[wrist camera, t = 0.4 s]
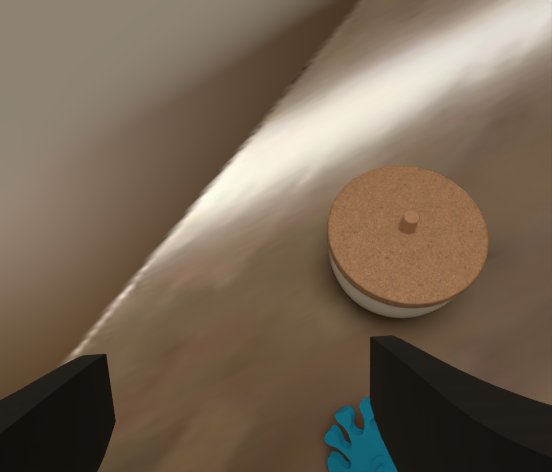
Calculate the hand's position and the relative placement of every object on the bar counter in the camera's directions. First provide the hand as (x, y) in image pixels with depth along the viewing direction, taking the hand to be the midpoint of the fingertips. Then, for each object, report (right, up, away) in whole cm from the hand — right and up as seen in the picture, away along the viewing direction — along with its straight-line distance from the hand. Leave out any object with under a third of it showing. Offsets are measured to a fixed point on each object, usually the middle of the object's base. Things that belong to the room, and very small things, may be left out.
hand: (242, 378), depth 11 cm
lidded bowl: (+12, 0, +30) cm, 33 cm away
